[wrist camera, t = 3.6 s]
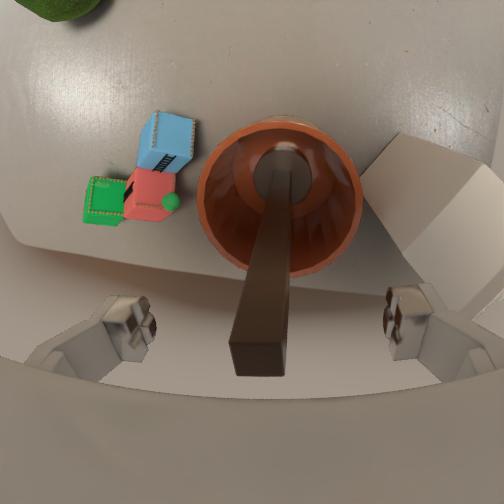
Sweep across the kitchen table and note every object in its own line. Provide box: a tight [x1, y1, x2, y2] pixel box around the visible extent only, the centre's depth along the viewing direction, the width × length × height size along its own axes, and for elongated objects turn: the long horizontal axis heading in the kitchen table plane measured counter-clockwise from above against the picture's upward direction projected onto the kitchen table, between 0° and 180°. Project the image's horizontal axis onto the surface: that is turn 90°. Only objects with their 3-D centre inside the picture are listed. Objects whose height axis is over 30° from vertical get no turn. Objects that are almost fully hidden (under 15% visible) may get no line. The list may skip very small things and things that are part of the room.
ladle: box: [229, 145, 312, 377], centre depth 18 cm, size 5×5×23 cm
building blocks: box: [83, 110, 196, 226], centre depth 27 cm, size 8×8×12 cm
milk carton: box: [359, 132, 504, 321], centre depth 19 cm, size 7×7×19 cm
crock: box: [197, 115, 363, 278], centre depth 24 cm, size 11×11×11 cm
